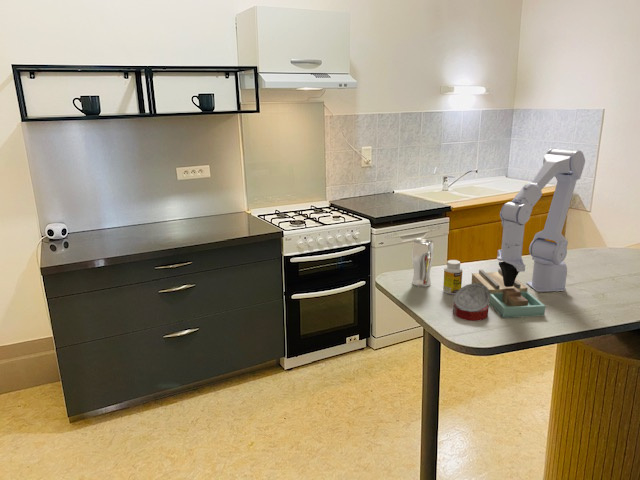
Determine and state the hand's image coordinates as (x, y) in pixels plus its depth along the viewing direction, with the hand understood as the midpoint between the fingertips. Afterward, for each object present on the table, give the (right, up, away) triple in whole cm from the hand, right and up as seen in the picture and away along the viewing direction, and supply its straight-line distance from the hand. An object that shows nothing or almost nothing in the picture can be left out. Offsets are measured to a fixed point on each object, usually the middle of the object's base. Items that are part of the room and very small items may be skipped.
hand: (508, 285), depth 148 cm
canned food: (-13, -8, -6) cm, 17 cm away
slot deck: (0, -3, +8) cm, 9 cm away
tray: (0, -6, -4) cm, 8 cm away
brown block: (0, -3, -4) cm, 5 cm away
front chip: (0, -3, -6) cm, 7 cm away
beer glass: (-23, -1, +17) cm, 28 cm away
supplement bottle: (-14, -3, +9) cm, 17 cm away
